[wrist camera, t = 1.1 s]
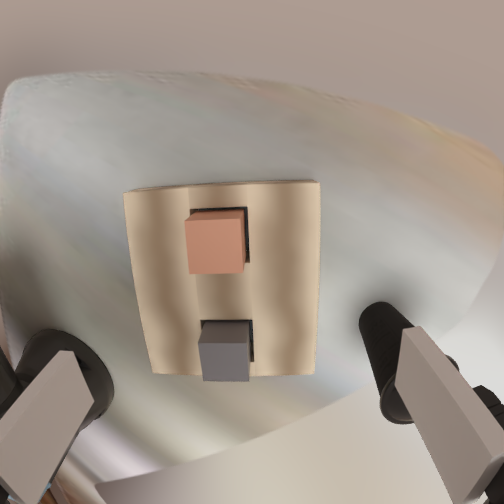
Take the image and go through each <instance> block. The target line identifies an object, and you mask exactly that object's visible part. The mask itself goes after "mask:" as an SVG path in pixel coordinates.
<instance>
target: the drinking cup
mask: <svg viewBox="0 0 504 504" xmlns="http://www.w3.org/2000/svg"><path fill="white" fill-rule="evenodd" d="M412 327H415V326H414V325H412V324H411V323H410V322H409V321H408V320H407V319H406V318H405V317H404V316H403V315H402V314H401V313H399V312H398V311H397V310H396V309H395V308H394V307H393V306H392V305H390V304H389V303H386V302H378V303H374V304H372V305H370V306H369V307H367V308H366V309H365V310H364V311H363V313H362V315H361V317H360V319H359V329H360V332H361V335H362V338H363V341H364V344H365V347H366V351H367V354H368V357H369V360H370V364H371V367H372V370H373V374H374V377H375V381H376V384H377V388H378V391H379V395H380V409H381V412H382V414H383V416H384V417H385V418H386V419H387V420H389V421H390V422H392V423H395V424H411V423H414V421H413V419H412V417H411V415H410V413H409V411H408V410H407V408H406V406H405V404H404V402H403V400H402V398H401V396H400V394H399V392H398V391H397V389H396V387H395V380H396V374H397V368H398V361H399V354H400V347H401V340H402V332H403V329H407V328H412ZM445 356H446V357H447V358H448V359H449V360H450V362H451V363H452V364H453V365H454V367H455V368H456V369H457V370H458V371H459V367H458V365H457V363H456V362H455V361H454V360H453V359H452V358H451V357H450V356H447V355H445ZM459 373H460V372H459Z"/></svg>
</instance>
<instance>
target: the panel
mask: <svg viewBox="0 0 504 504" xmlns="http://www.w3.org/2000/svg"><path fill="white" fill-rule="evenodd" d="M123 200H124V210H125V219H126V228H127V236H128V244H129V251H130V258H131V265H132V272H133V278H134V284H135V290H136V296H137V301H138V307H139V312H140V317H141V322H142V327H143V332H144V337H145V341H146V346H147V350H148V355H149V359H150V363H151V368H152V372H153V373H161V374H177V375H200V376H202V369H201V362H200V355H199V348H198V341H199V338H200V335H201V332H202V329H203V326H204V323H205V320H242V319H253V340H254V343H250V344H251V360H250V375H249V376H279V375H302V374H314V369H315V355H316V339H317V321H318V300H319V271H320V183H319V182H316V181H314V180H286V181H251V182H228V183H209V184H193V185H179V186H166V187H154V188H142V189H136V190H132V191H129V192H125V193H123ZM241 206H248V226H249V250H250V251H246V259H245V265H244V270H243V273H226V274H189V266H188V257H187V246H186V235H185V224H184V221H185V220H186V219H187V218H189V217H190V216H191V215H192V214H194V213H195V212H196V211H199V209H198V208H217V207H241Z"/></svg>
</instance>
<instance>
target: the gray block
mask: <svg viewBox="0 0 504 504" xmlns="http://www.w3.org/2000/svg"><path fill="white" fill-rule="evenodd" d="M198 348H199V355H200V362H201V369H202V376H203V381H249V375H250V360H251V344H250V324H249V319H242V320H205V323H204V326H203V329H202V332H201V335H200V338H199V341H198Z"/></svg>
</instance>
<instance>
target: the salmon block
mask: <svg viewBox="0 0 504 504" xmlns="http://www.w3.org/2000/svg"><path fill="white" fill-rule="evenodd" d="M184 224H185V235H186V246H187V257H188V266H189V274H226V273H243V270H244V265H245V259H246V241H245V219H244V209H228V210H206V211H196V212H195V213H194V214H192V215H191V216H190V217H189V218H187V219H186V220H185V221H184Z"/></svg>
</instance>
